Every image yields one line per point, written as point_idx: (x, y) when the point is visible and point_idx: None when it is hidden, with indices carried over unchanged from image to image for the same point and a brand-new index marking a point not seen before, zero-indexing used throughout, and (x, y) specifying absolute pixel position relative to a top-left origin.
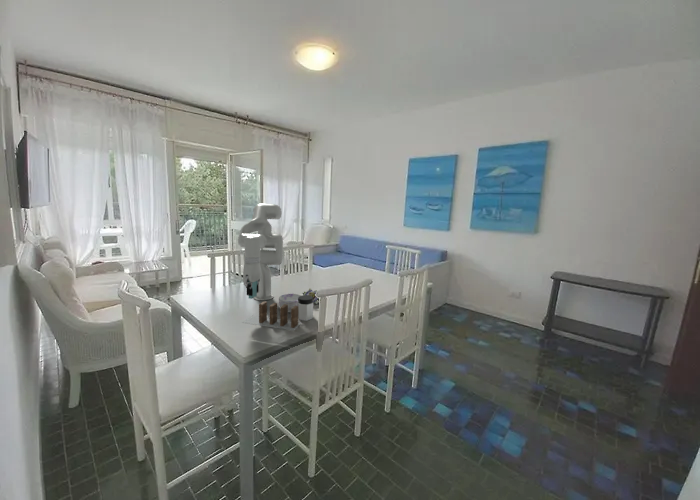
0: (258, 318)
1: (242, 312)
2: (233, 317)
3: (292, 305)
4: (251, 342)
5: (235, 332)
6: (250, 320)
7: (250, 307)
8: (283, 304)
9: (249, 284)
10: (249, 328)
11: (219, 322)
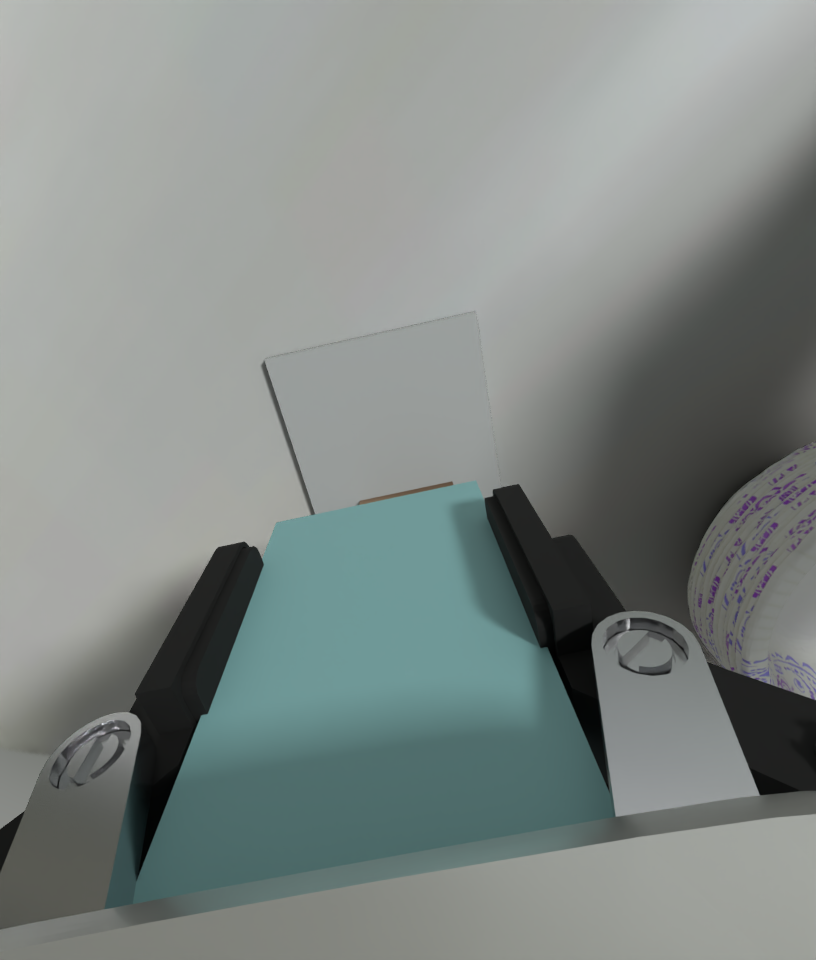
0: (435, 428)
1: (505, 85)
2: (312, 117)
3: (723, 667)
4: (87, 665)
5: (88, 460)
6: (350, 396)
7: (715, 32)
8: (720, 589)
9: (167, 894)
10: (229, 501)
11: (90, 80)
